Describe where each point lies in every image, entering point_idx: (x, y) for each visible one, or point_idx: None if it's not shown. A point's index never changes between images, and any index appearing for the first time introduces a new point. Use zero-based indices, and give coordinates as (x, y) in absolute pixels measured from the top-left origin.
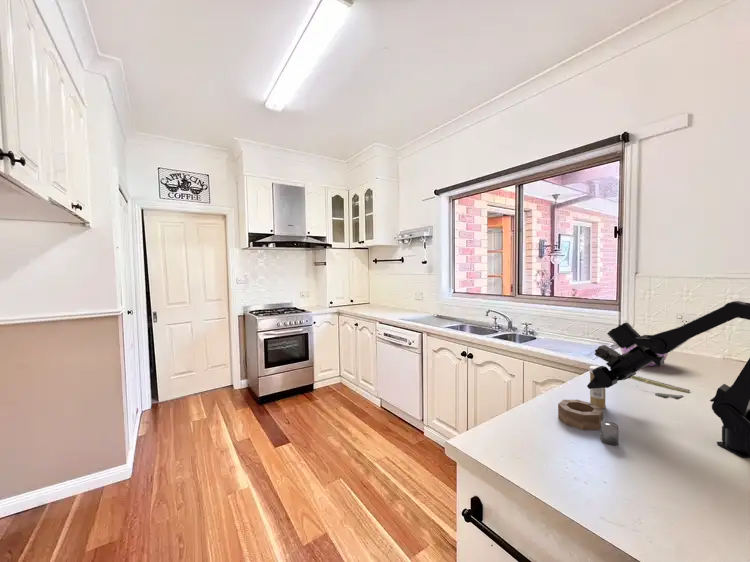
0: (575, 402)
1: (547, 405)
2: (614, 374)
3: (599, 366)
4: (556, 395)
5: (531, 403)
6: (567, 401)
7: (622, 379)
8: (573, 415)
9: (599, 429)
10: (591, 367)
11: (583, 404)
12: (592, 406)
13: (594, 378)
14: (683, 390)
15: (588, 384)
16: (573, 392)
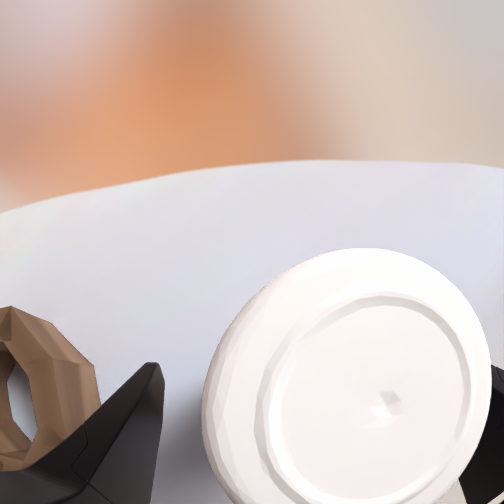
0: (20, 364)
1: (79, 240)
2: (492, 446)
3: (471, 375)
4: (226, 193)
5: (62, 199)
6: (4, 331)
7: (467, 495)
8: None
9: None
10: (253, 330)
11: (36, 402)
12: (35, 448)
13: (46, 466)
14: None
15: (128, 380)
16: (340, 214)
